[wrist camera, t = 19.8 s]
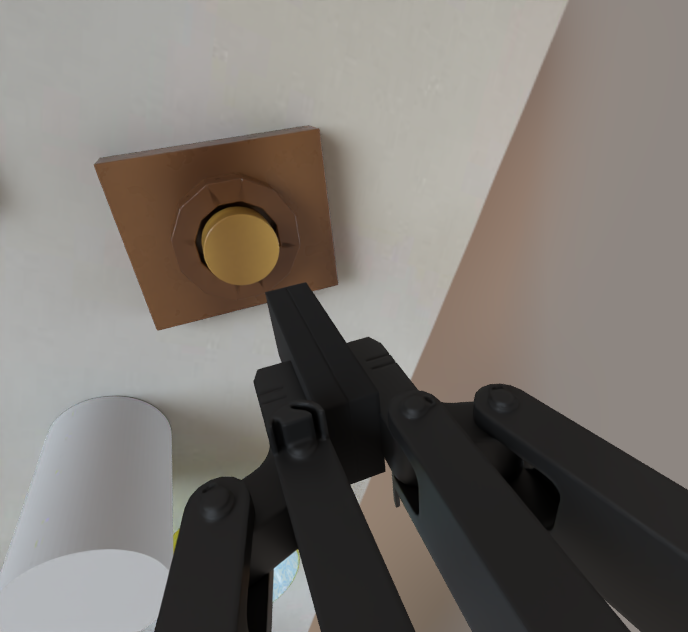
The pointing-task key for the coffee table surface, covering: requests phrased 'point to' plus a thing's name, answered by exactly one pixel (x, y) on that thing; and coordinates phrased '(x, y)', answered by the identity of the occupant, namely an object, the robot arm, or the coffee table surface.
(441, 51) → the coffee table surface
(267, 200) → the brown button base
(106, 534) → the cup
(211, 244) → the button
